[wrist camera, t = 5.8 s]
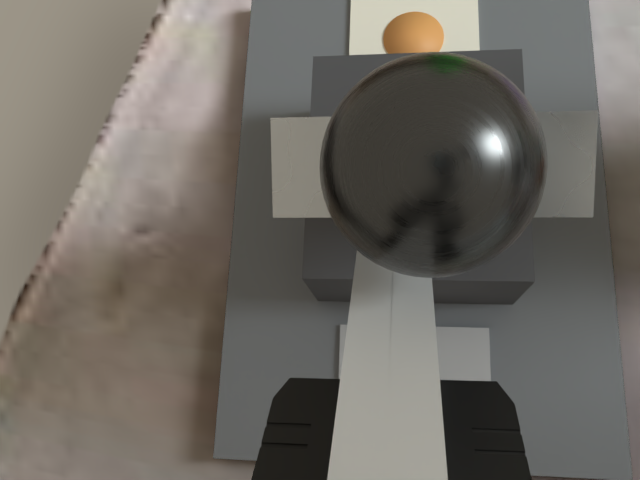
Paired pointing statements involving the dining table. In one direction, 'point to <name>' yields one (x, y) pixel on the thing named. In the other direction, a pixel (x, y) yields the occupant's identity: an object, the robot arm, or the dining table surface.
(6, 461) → the dining table surface
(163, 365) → the dining table surface
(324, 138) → the toggle lever
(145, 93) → the dining table surface
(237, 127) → the dining table surface
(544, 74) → the switch board
